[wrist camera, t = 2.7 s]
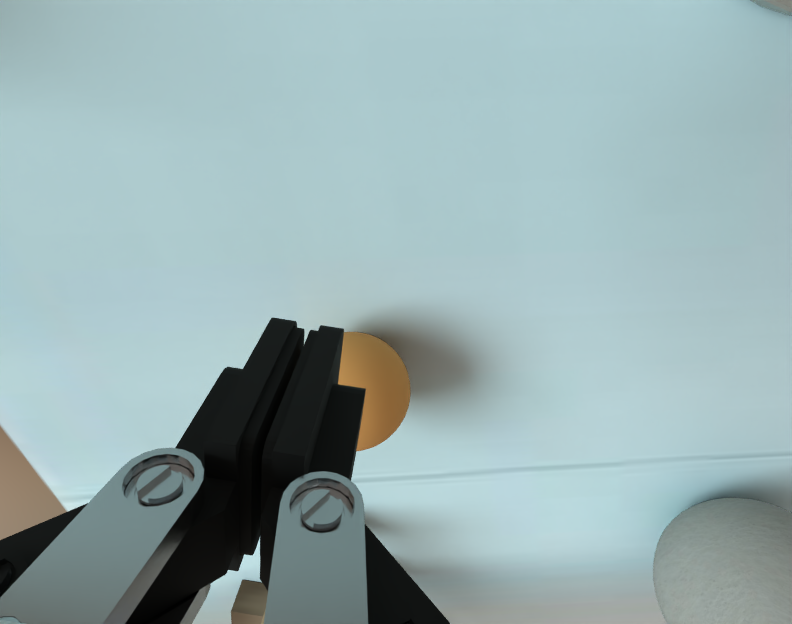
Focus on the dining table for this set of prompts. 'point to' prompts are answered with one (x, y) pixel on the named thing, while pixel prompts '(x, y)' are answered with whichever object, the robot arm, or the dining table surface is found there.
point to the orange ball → (375, 385)
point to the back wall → (249, 603)
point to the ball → (726, 564)
